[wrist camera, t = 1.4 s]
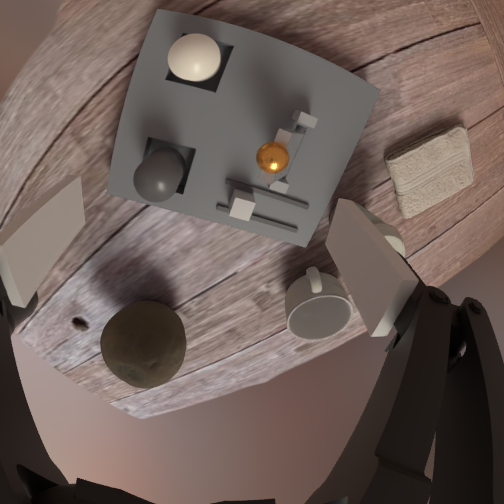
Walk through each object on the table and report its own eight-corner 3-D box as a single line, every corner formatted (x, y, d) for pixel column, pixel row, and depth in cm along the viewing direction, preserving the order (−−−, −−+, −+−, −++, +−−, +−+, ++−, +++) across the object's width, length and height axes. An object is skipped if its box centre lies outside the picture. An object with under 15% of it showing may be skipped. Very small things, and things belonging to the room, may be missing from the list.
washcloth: (468, 176, 40) (479, 182, 37) (398, 217, 43) (407, 226, 41) (457, 117, 34) (469, 121, 31) (379, 156, 37) (389, 162, 35)
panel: (116, 183, 36) (97, 203, 30) (164, 16, 24) (151, 2, 18) (299, 233, 43) (311, 259, 37) (366, 88, 31) (393, 91, 25)
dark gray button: (143, 179, 32) (129, 196, 27) (151, 142, 30) (138, 153, 25) (179, 188, 33) (172, 207, 29) (190, 152, 31) (183, 164, 26)
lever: (271, 171, 32) (239, 187, 23) (291, 121, 29) (266, 116, 20) (292, 181, 32) (269, 201, 23) (314, 131, 29) (299, 129, 20)
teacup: (334, 306, 52) (347, 337, 46) (279, 313, 52) (286, 346, 45) (344, 244, 45) (363, 274, 38) (279, 250, 44) (289, 282, 38)
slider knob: (228, 205, 35) (228, 215, 33) (234, 188, 34) (235, 197, 31) (246, 210, 36) (248, 221, 33) (253, 193, 34) (255, 203, 32)
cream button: (171, 76, 26) (160, 74, 21) (185, 38, 23) (177, 28, 19) (212, 86, 27) (209, 85, 22) (227, 48, 25) (227, 40, 20)
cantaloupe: (154, 269, 44) (134, 341, 32) (204, 321, 51) (201, 390, 39) (101, 301, 47) (77, 365, 35) (150, 344, 54) (139, 406, 42)
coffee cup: (366, 185, 39) (408, 222, 29) (373, 231, 44) (408, 275, 34) (314, 201, 40) (344, 245, 30) (326, 248, 45) (352, 297, 35)
